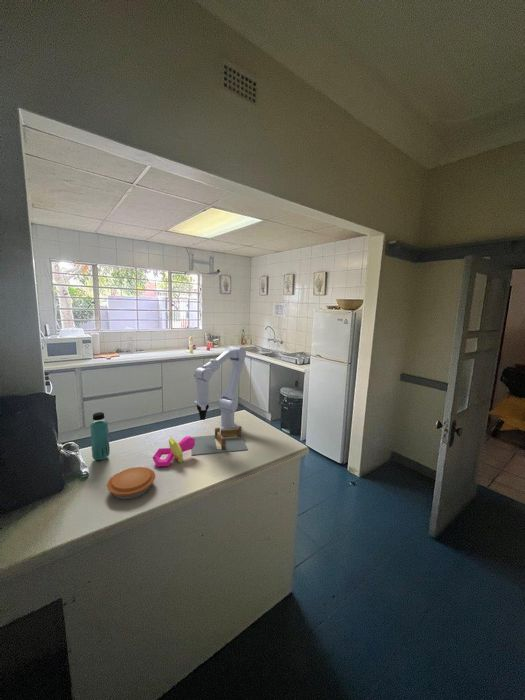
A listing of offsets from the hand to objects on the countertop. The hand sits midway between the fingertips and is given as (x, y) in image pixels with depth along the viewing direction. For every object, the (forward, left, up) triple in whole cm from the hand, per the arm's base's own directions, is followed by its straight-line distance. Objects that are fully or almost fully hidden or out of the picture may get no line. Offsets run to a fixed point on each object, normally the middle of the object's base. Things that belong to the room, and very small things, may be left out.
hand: (202, 419), depth 136 cm
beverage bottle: (+11, -42, -10) cm, 45 cm away
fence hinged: (+9, +8, -9) cm, 15 cm away
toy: (+18, -12, -10) cm, 24 cm away
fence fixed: (+2, +12, -10) cm, 16 cm away
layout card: (+7, +7, -10) cm, 14 cm away
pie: (+34, -26, -10) cm, 44 cm away
